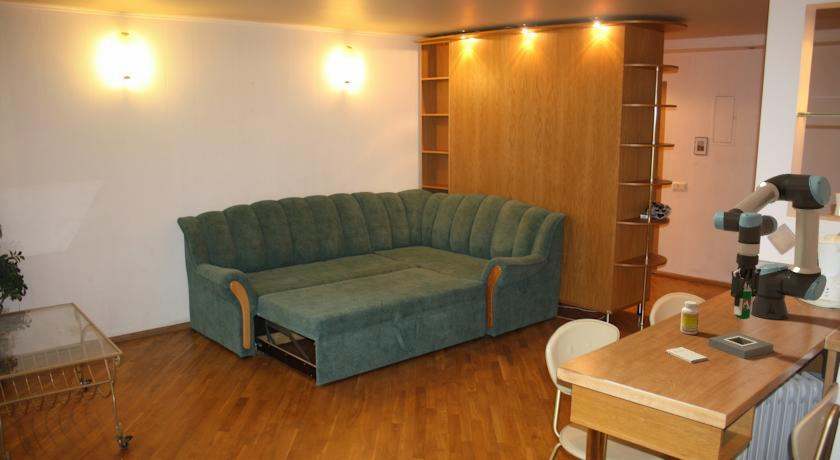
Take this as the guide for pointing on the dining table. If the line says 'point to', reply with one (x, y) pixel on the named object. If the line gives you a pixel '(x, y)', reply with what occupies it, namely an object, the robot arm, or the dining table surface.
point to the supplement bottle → (689, 318)
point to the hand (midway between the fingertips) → (742, 313)
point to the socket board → (741, 345)
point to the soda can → (745, 303)
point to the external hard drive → (686, 355)
